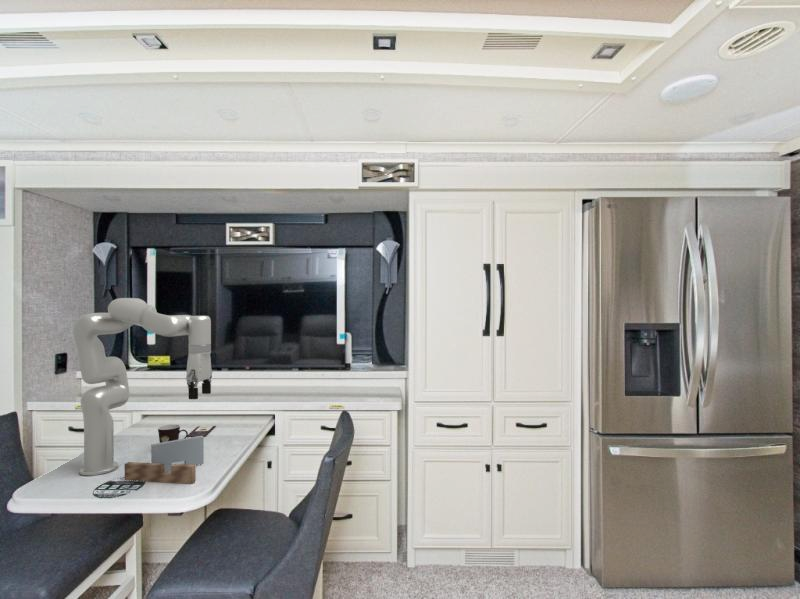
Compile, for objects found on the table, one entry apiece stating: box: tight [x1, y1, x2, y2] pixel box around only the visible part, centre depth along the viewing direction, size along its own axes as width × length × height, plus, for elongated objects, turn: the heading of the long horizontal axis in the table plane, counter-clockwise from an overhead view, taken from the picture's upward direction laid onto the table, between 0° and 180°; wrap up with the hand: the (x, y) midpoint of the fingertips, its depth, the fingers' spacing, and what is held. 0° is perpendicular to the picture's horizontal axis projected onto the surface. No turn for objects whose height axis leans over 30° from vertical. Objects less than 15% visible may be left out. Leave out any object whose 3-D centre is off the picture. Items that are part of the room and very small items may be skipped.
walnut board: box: [124, 461, 197, 485], centre depth 166 cm, size 26×2×6 cm, turn 83°
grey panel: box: [150, 436, 204, 472], centre depth 178 cm, size 18×2×11 cm, turn 128°
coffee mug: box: [157, 423, 189, 443], centre depth 200 cm, size 12×9×10 cm
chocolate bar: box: [187, 425, 217, 438], centre depth 229 cm, size 9×1×18 cm
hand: (200, 396), depth 170 cm, fingers open, 9 cm apart
